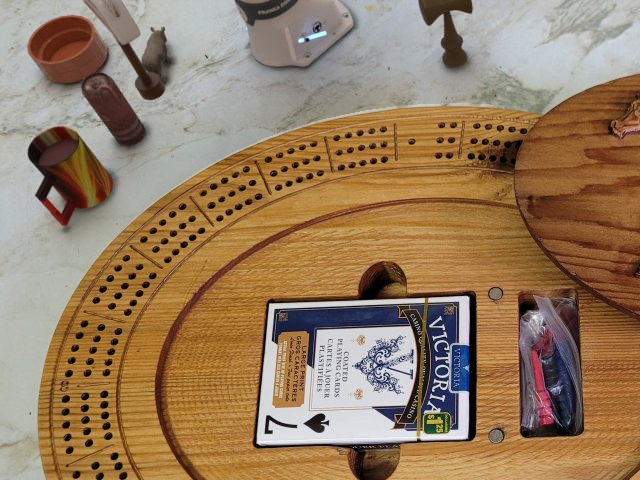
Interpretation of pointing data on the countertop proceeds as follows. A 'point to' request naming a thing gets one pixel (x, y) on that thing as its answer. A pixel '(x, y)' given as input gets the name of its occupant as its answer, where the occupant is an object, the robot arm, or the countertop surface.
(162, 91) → the disc-capped wooden dowel
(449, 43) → the kendama
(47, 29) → the bowl
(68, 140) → the mug
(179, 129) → the countertop surface
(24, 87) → the countertop surface
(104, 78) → the can
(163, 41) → the rhino figurine
